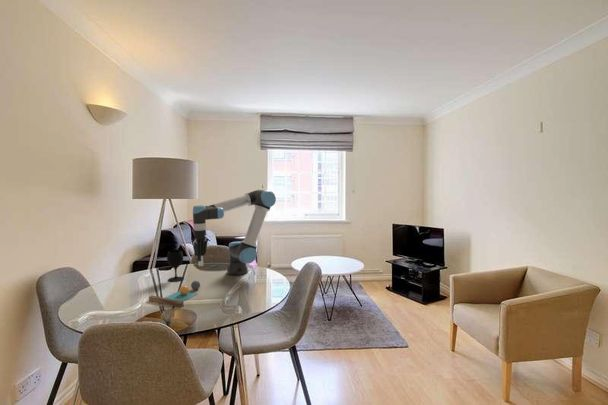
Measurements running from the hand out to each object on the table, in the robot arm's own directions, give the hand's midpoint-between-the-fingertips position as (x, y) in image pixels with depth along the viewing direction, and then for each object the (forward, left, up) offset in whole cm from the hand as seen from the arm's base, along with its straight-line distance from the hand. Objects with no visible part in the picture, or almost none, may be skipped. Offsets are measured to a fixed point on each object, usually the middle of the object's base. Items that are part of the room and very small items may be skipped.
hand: (200, 265), depth 202 cm
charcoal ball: (+5, 0, -11) cm, 12 cm away
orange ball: (+15, 0, -11) cm, 19 cm away
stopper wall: (+29, 0, -14) cm, 32 cm away
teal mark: (+18, 0, -14) cm, 23 cm away
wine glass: (-4, -26, -14) cm, 30 cm away
